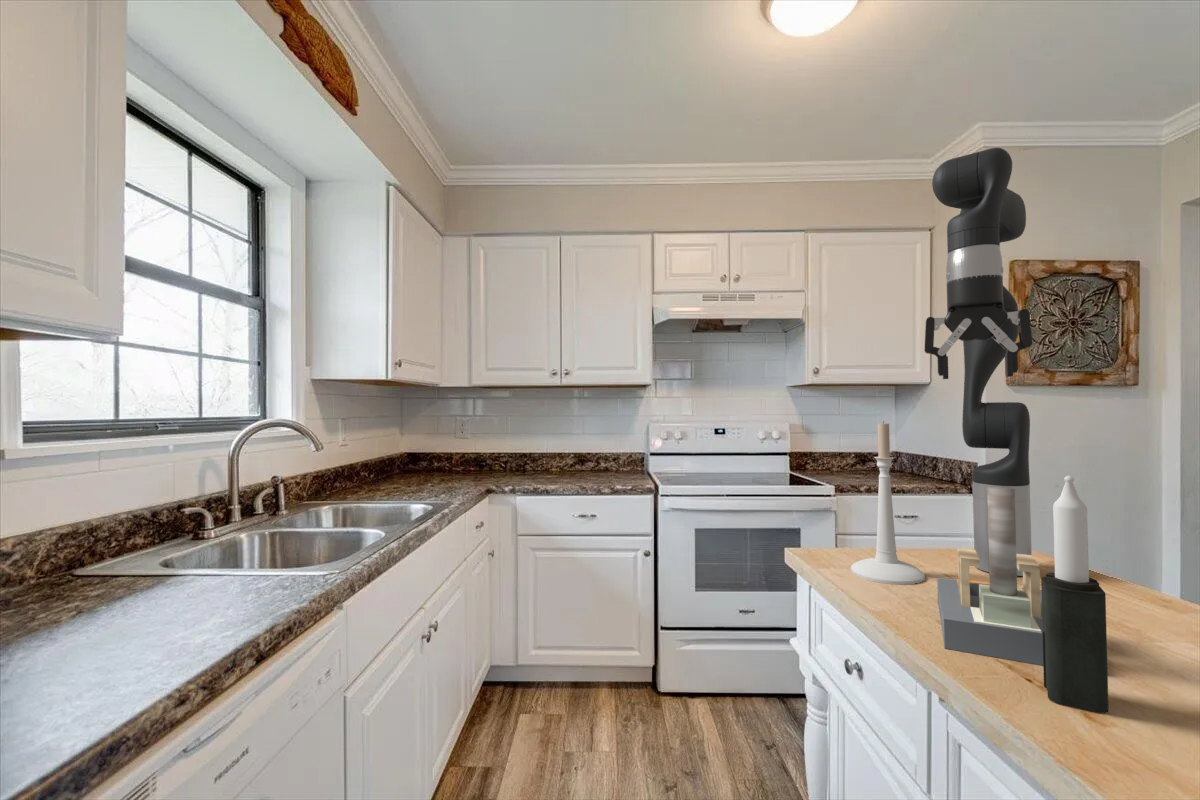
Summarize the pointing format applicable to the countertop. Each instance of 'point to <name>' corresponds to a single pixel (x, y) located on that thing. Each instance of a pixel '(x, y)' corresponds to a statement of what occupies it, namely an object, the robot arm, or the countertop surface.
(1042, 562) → the countertop surface
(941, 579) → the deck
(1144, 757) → the countertop surface
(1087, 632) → the candle
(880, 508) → the candlestick
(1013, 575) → the post on square base
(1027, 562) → the wooden brackets
